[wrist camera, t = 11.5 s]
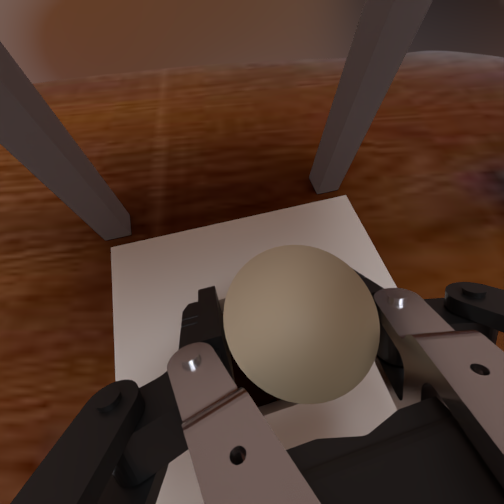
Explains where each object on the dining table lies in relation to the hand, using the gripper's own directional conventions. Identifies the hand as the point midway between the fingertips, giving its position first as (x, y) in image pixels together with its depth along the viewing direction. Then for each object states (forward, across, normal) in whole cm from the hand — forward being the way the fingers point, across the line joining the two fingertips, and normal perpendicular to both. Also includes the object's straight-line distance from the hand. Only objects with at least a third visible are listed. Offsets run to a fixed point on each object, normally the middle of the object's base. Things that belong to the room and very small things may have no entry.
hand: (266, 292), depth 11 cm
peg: (+2, 0, +5) cm, 6 cm away
